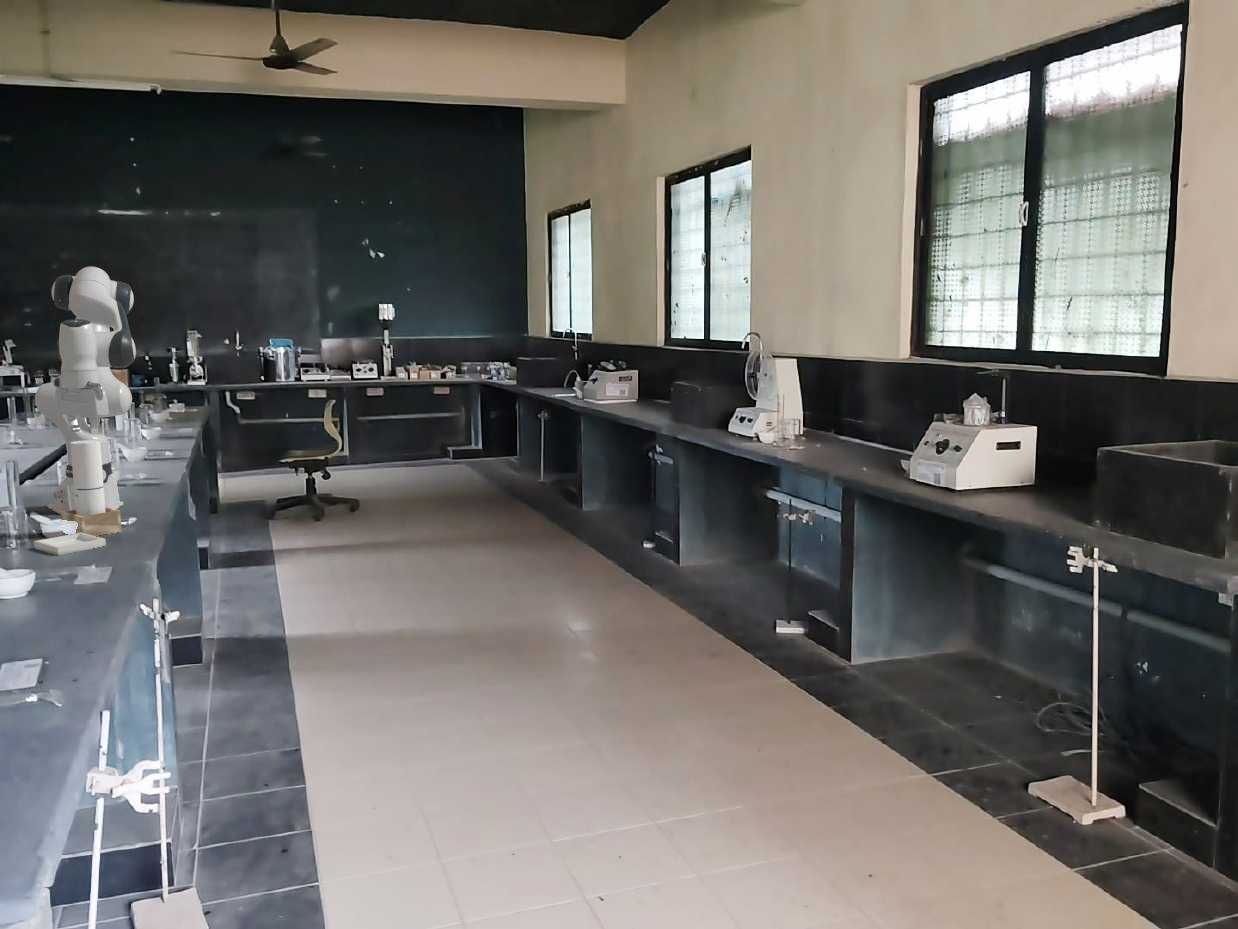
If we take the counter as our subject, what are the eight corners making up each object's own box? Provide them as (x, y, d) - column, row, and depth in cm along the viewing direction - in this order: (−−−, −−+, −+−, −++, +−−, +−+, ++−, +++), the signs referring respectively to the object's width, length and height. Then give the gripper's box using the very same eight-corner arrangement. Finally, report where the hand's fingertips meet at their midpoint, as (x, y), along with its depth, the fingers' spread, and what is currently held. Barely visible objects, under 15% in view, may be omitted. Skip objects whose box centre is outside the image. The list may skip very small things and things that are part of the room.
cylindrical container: (94, 536, 273) (87, 444, 269) (71, 535, 274) (64, 443, 270) (112, 530, 279) (106, 440, 276) (90, 529, 281) (83, 439, 277)
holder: (62, 533, 275) (60, 512, 274) (101, 526, 284) (99, 505, 283) (83, 539, 269) (81, 517, 268) (121, 531, 278) (120, 510, 277)
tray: (34, 548, 259) (34, 541, 258) (81, 539, 268) (81, 532, 268) (58, 555, 252) (57, 547, 252) (106, 546, 262) (105, 538, 261)
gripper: (113, 382, 267) (116, 434, 269) (73, 379, 278) (76, 429, 281) (89, 383, 262) (93, 436, 264) (49, 380, 273) (53, 431, 275)
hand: (84, 432), depth 272 cm, fingers open, 8 cm apart
